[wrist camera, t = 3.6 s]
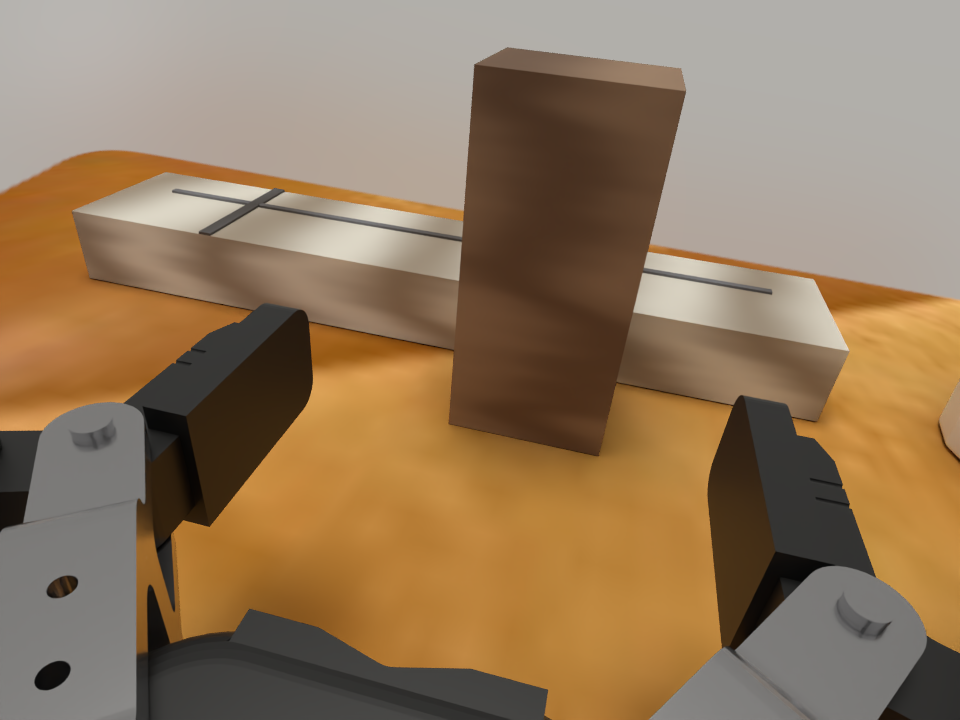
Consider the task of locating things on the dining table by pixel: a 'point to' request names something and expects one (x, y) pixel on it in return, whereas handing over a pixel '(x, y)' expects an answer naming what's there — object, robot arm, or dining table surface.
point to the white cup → (952, 422)
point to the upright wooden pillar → (556, 238)
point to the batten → (452, 285)
